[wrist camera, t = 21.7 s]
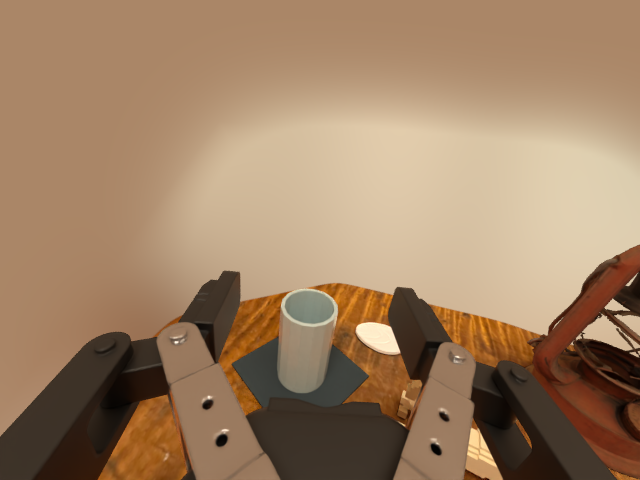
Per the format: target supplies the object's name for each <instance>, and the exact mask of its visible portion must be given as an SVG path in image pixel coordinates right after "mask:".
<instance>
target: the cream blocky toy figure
mask: <svg viewBox="0 0 640 480" xmlns="http://www.w3.org/2000/svg"><path fill="white" fill-rule="evenodd" d="M421 386H422V383H421V380H416V381H414V380H413V381H412V384H410V383H408V387H407V391H404V390H403V394H402V397H401V401H400V405H399V409H398V413H397V415H398V416H400V417H402V418H404V419H406V416H407V413H408V409H409V410H411V412H412V409H413V406H414V404H415V401H416V398H417V396H418V393H419V391H420V388H421ZM399 423H400V422H399ZM401 424H402V423H401ZM402 425H403V426H405V425H404V424H402ZM465 469H467V470H468V471H470V472H472V473H474V474H476V475H478V476H480V477H481V478H483V479H484V478H485V477H486V478H488V479H490V480H503V478H502V476H501V474H500V472H499V470H498V468H497V466H496V464H495V462H494V460H493V457H492V455H491V453H490V451H489V449H488V447H487V445H486V443H485V441H484V439H483V437H482V435H481V433H480V431H479V429H478V430H475V429H473V428H471V432H470V439H469V446H468V453H467V460H466V466H465Z"/></svg>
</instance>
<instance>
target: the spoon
mask: <svg viewBox="0 0 640 480" xmlns="http://www.w3.org/2000/svg"><path fill="white" fill-rule="evenodd" d="M356 335H357V337H358V338H359V339H360V340H361V341H362V342H363V343H364V344H365V345H367V346H368V347H370V348H371V349H373V350H375V351H377V352H380V353H383V354H389V355H397V354H400V350H399V347H398V345H397V342H396V339H395V337H394V334H393V331H392V329H391V327H389V326H387V325H384V324H380V323H364V324H359V325H358V326H357V328H356Z"/></svg>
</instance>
